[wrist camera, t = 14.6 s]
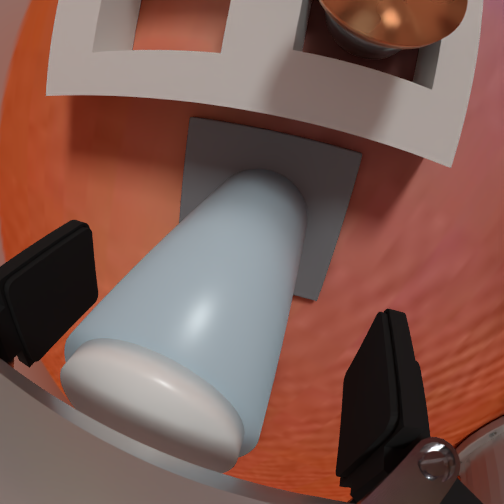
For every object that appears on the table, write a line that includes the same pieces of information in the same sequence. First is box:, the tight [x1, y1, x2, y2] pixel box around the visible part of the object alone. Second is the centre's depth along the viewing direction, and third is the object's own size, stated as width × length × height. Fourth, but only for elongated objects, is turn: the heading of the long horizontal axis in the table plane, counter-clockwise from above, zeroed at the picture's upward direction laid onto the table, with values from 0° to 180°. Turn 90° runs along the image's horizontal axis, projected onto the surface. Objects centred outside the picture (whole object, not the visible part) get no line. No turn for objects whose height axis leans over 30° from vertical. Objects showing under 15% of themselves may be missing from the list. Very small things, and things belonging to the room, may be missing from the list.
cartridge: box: [60, 169, 308, 473], centre depth 10 cm, size 5×5×12 cm
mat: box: [179, 117, 362, 301], centre depth 16 cm, size 8×8×1 cm
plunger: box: [319, 0, 468, 60], centre depth 8 cm, size 4×4×6 cm
